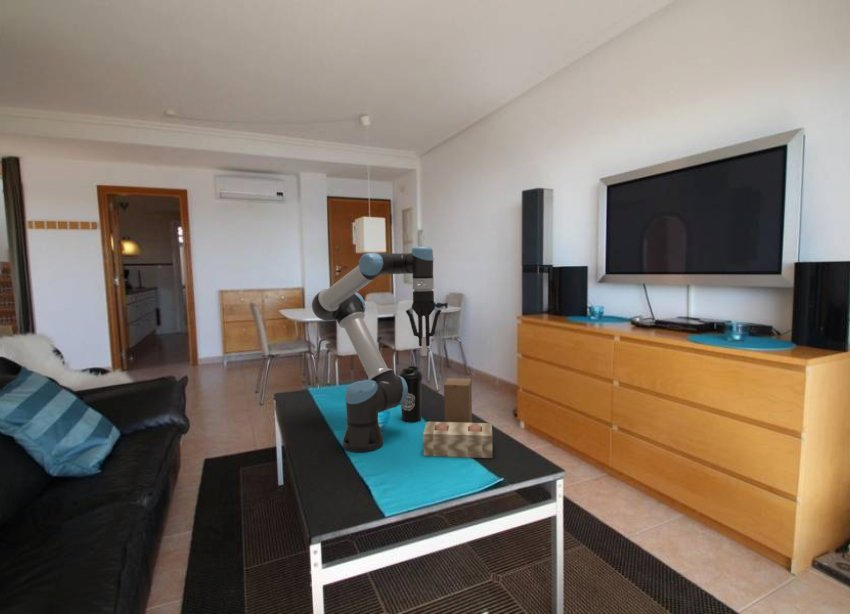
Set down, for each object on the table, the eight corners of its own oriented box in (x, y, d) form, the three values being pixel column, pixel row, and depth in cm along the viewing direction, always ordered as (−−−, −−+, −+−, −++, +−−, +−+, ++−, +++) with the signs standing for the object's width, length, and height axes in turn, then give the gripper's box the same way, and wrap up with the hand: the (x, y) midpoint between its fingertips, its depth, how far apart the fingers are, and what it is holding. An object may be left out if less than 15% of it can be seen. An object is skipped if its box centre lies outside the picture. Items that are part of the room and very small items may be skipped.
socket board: (423, 455, 154) (423, 433, 154) (427, 442, 166) (427, 421, 165) (492, 458, 151) (492, 435, 150) (491, 444, 163) (491, 423, 162)
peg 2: (469, 450, 156) (469, 428, 155) (469, 445, 160) (469, 424, 159) (480, 450, 156) (480, 429, 155) (480, 446, 160) (480, 424, 159)
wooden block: (469, 434, 173) (469, 385, 171) (444, 433, 175) (443, 384, 173) (472, 425, 182) (471, 378, 181) (448, 424, 184) (447, 377, 183)
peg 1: (436, 449, 158) (435, 427, 157) (437, 444, 162) (436, 423, 161) (447, 449, 157) (446, 428, 156) (447, 445, 161) (447, 424, 160)
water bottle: (396, 421, 188) (394, 369, 186) (405, 414, 198) (404, 364, 196) (417, 424, 184) (416, 371, 182) (426, 416, 194) (425, 365, 192)
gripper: (403, 291, 154) (405, 357, 156) (440, 290, 152) (441, 357, 154) (407, 289, 161) (408, 352, 163) (442, 289, 160) (443, 353, 162)
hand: (424, 355), depth 159 cm, fingers closed
